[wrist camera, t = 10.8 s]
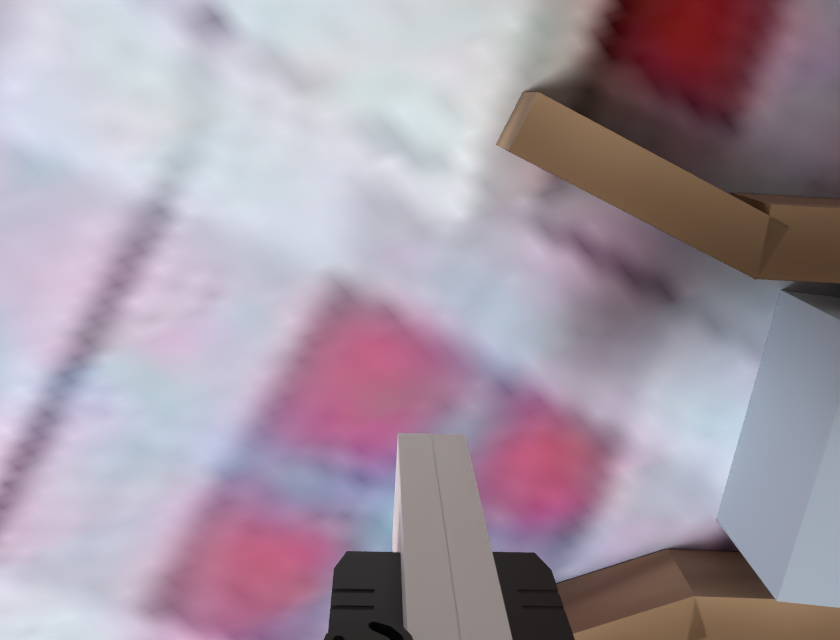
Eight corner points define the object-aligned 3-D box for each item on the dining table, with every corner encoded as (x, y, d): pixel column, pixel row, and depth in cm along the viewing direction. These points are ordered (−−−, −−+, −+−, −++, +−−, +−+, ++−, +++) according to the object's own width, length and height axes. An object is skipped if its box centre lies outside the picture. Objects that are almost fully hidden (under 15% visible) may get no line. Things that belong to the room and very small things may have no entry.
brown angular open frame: (500, 90, 21) (517, 90, 18) (1133, 131, 22) (1244, 137, 19) (451, 651, 27) (458, 719, 24) (961, 667, 27) (1028, 735, 25)
